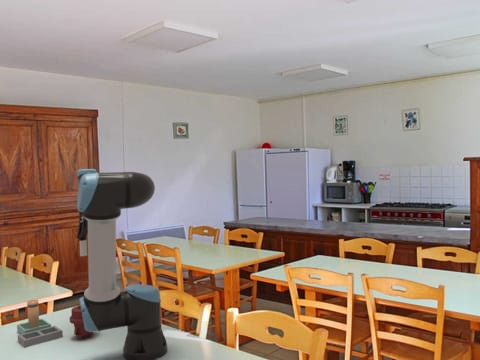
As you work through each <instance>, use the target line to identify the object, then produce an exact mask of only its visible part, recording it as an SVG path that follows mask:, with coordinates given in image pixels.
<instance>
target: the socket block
mask: <svg viewBox="0 0 480 360" xmlns="http://www.w3.org/2000/svg"><path fill="white" fill-rule="evenodd" d="M61 338H64V335H63V330H62V329H61V328H59V327H58V326H56V325H51V327H48V328H44V329H40V330H36V331H32V332H28V333H24V334H21V335H20V334H18V335H17V342H18V343H19V344H20V345H21V346H22V347H23V348H27V347H32V346H35V345H39V344H42V343H46V342H49V341H52V340H54V341H55V340H57V339H61Z"/></svg>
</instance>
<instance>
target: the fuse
mask: <svg viewBox="0 0 480 360" xmlns="http://www.w3.org/2000/svg"><path fill="white" fill-rule="evenodd" d="M39 304H40V303H39V299H31V300H28V301H27V303H26V305H27V306H26V307H27V320H28V321H27V322H28V324H29V329H32V328H36V327H40V325H39V319H40V310H39V309H40V308H39V307H40V306H39Z"/></svg>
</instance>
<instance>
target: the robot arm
mask: <svg viewBox="0 0 480 360" xmlns="http://www.w3.org/2000/svg"><path fill="white" fill-rule="evenodd" d="M76 178H77V188H78V189H77V195H76V196H77V198H76V199H77V202H76V206H77V211H78V215H79V218H78V221H79V222H78V223H79V224H78V228H77V233H76V239H78V241H79V254H80V255H79V256H80V257H85V256H87V257H88V259H87V260H88V263H87V265H88V287H87V288H86V289H85V290H84V292H83V293H84V294H83V296H82V297H80V298H79V305H80V306H81V311H82V317H83V322H84V327H85V330H86V331H87V332H93V333H94V332H95V333H96V332H98V333H99V332H101V331H107V330H114V329H118V328H125V327H127V333H126V337H125V339H124V340H125V341H124V344H123V347H122V355H123V358H124V359H126V360H156V359H157V358H158V359H159V358H160V357H163V356H164V355H165V354H166V353H168V343H167V339H166V337H165V334H164V331H163V328H162V307H161V302H162V299H161V293H160V290H159V288H158V287H156V286H154V285H149V284H141V283H139V284H138V283H137V284H131V285H126V287H125V289H124V291H121V288H120V286H118V285H117V283H116V282H117V280H116V279H117V239H116V238H117V230H116V229H117V226H116V225H117V223H116V222H117V219H119V218H120V217H121V215H122V214H121V213H122V210H123V209H133V208H138V207H140V206H142V205H145V204H146V203H147V202H149V201H150V200H151V199H152V198H153V196H154V194H155V190H156V188H155V182H154V181H153V179H152V178H151V177H150V176H149V175H147V174H144V173H141V172H135V171H120V172H119V171H118V172H114V171H113V172H97V170H96V169H95V168H83V169H81V168H80V169H78V170H77V176H76Z"/></svg>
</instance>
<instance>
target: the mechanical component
mask: <svg viewBox="0 0 480 360" xmlns="http://www.w3.org/2000/svg"><path fill="white" fill-rule="evenodd" d="M68 319H69V323H71V324H73V326H74V328H73V329H74V330H73V334H74V335H75V336H76V337H77V339H78V340H79V341H80V340H81V341H82V340H83V339H86V338H89V337H93V336H94V332H87V331H86V330H85V327H84V322H83V317H82V311H81V306H80V304H78V305H76V306H74V307H72V308H71V316H69V318H68Z"/></svg>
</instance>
